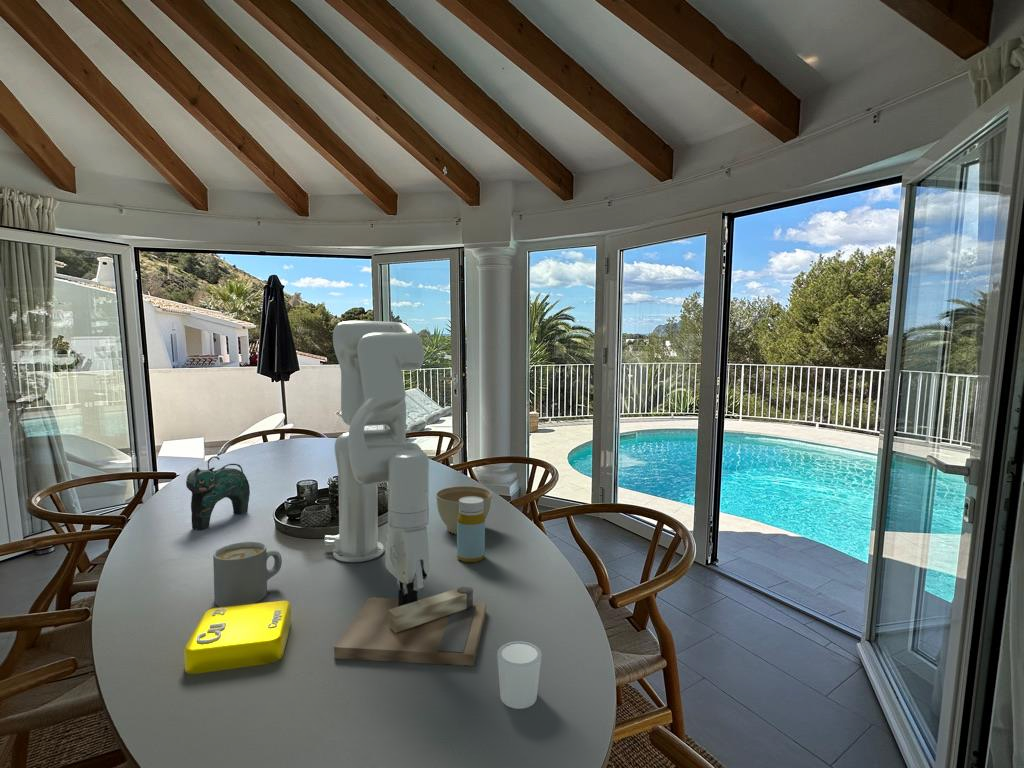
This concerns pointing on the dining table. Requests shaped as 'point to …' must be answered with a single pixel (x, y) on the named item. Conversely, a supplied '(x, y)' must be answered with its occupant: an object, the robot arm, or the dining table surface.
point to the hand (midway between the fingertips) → (407, 609)
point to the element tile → (238, 637)
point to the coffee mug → (242, 573)
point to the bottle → (471, 529)
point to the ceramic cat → (216, 492)
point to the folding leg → (430, 608)
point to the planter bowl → (450, 503)
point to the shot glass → (519, 673)
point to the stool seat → (412, 636)
